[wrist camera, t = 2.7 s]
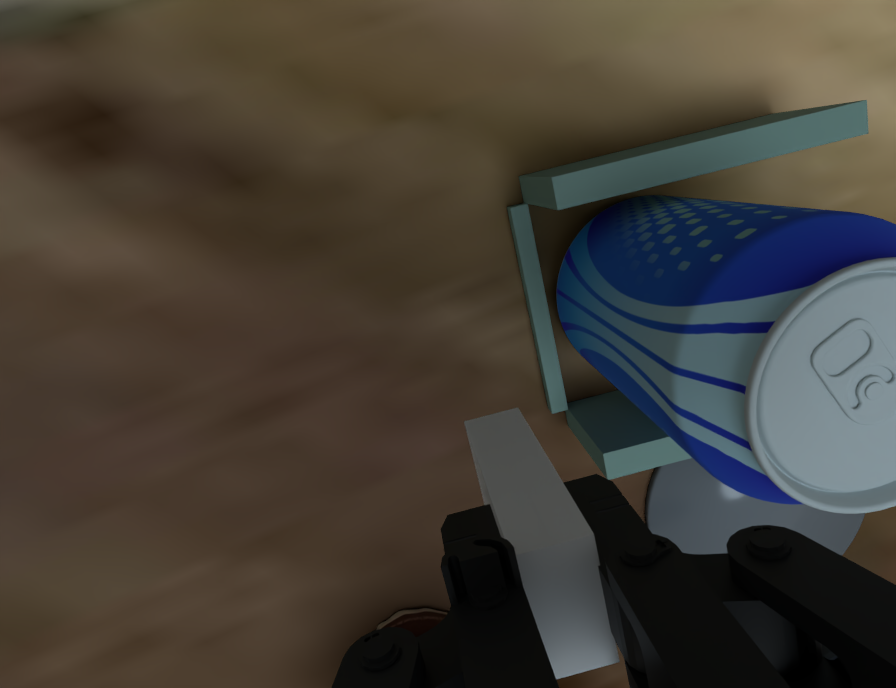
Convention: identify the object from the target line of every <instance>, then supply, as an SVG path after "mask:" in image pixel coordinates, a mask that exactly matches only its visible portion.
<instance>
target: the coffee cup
mask: <svg viewBox="0 0 896 688" xmlns="http://www.w3.org/2000/svg"><path fill="white" fill-rule="evenodd" d="M446 615H447V612H442V611H437V610H433V609H429V608H422V609H415V610H402V611H398V612H397V613H395V614H394V615H393V616H391V617H390V618H389V619H388V620H386V621H385V622H382V623H381V624H379V625H378V627H377V629H376V630H378V629H382V628H386V627H402V628H404V629H406V630H408V631H411V632H412V633H413V634H414V636H415V637H418V636H420V635H422V634H423V633H425V632H427V631H429V630H430V629H432V628H433V627H435V626H436V625H437V624H439V623H440V622H441V621H442V620H443V619H444V618H445V616H446Z"/></svg>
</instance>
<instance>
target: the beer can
mask: <svg viewBox="0 0 896 688" xmlns="http://www.w3.org/2000/svg"><path fill="white" fill-rule="evenodd" d="M557 308H558V313H559V318H560V321H561V324H562V327H563V329H564V331H565V334H566V335H567V337H568V339H569V341H570V342H571V344H572V345H573V346H574V348H575V349H576V350H577V351H578V352H579V353H580V355H582V356H583V357H584V358H585V359H586V360H587V361H588V362H589V363H590V364H591V365H592V366H593V367H595V368H596V369H597V370H598V371H599V372H600V373H601V374H602V375H603V376H604V377H605V378H606V379H608V380H609V381H610V382H611V383H612V384H613V385H614V386H615V387H616V388H617V389H618V390H619V391H621V392H622V393H623V394H624V395H625V396H626V397H627V398H628V399H629V400H630V401H631V402H632V403H634V404H635V405H636V406H637V407H638V408H639V409H640V410H641V411H642V412H643V413H644V414H645V415H647V416H648V417H649V418H650V419H651V420H652V421H653V422H654V423H655V424H656V425H657V426H658V427H660V428H661V429H662V430H663V431H664V432H665V433H666V434H667V435H668V436H669V437H670V438H671V439H673V440H674V441H675V442H676V443H677V444H678V445H679V446H680V447H681V448H682V449H683V450H684V451H686V452H687V453H688V454H689V455H690V456H691V457H692V458H693V459H694V460H695V461H696V462H697V463H699V464H700V465H701V466H702V467H703V468H704V469H705V470H706V471H707V472H709V473H710V474H711V475H712V476H713V477H715V478H716V479H717V480H719V481H720V482H722V483H723V484H725V485H726V486H728V487H730V488H732V489H734V490H735V491H737V492H740V493H742V494H744V495H747V496H749V497H753V498H756V499H760V500H763V501H768V502H773V503H779V504H791V505H793V504H805V505H808V506H810V507H813V508H816V509H819V510H823V511H828V512H834V513H844V514H859V513H868V512H874V511H879V510H883V509H887V508H890V507H894V506H896V224H893V223H891V222H888V221H886V220H883V219H880V218H876V217H872V216H869V215H865V214H859V213H852V212H843V211H831V210H820V209H809V208H797V207H786V206H775V205H763V204H752V203H741V202H730V201H718V200H707V199H696V198H684V197H673V196H661V195H649V196H640V197H635V198H631V199H627V200H624V201H622V202H619V203H617V204H615V205H613V206H611V207H609V208H607V209H605V210H604V211H602V212H601V213H599V214H598V215H597V216H595V217H594V218H593V219H592V220H591V221H590V222H588V223H587V224H586V225H585V226H584V227H583V229H582V230H581V231H580V232H579V233H578V235H577V236H576V237H575V239H574V240H573V242H572V243H571V245H570V247H569V248H568V250H567V252H566V254H565V257H564V259H563V262H562V264H561V268H560V271H559V276H558V281H557Z"/></svg>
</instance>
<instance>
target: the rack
mask: <svg viewBox="0 0 896 688" xmlns="http://www.w3.org/2000/svg"><path fill="white" fill-rule="evenodd" d="M864 134H868V116H867V100H863V101H856V102H849V103H843V104H836V105H829V106H822V107H815V108H809V109H802V110H795V111H788V112H781V113H774V114H770V115H766V116H762V117H758V118H754V119H750V120H746V121H742V122H737V123H733V124H729V125H725V126H721V127H717V128H713V129H709V130H705V131H701V132H697V133H693V134H689V135H685V136H680V137H676V138H672V139H668V140H664V141H660V142H656V143H652V144H648V145H644V146H640V147H636V148H632V149H628V150H624V151H619V152H615V153H611V154H607V155H603V156H599V157H595V158H591V159H587V160H583V161H579V162H575V163H571V164H567V165H562V166H558V167H554V168H550V169H546V170H542V171H538V172H534V173H530V174H526V175H522V176H519V181H520V186H521V191H522V196H523V201H524V203H521V204H517V205H513V206H509V207H507V210H508V215H509V220H510V225H511V230H512V235H513V239H514V244H515V249H516V254H517V259H518V264H519V268H520V273H521V278H522V283H523V288H524V293H525V298H526V302H527V307H528V312H529V317H530V322H531V327H532V331H533V336H534V341H535V346H536V351H537V356H538V361H539V365H540V370H541V375H542V380H543V385H544V390H545V394H546V399H547V404H548V408H549V410H550V411H551V413H552V414H553V413H557V412H561V411H565V412H566V417H567V422H568V426H569V428H570V429H571V430H572V432H573V433H574V434H575V436H576V437H577V439H578V440H579V441H580V443H581V444H582V445H583V447H584V448H585V449H586V451H587V452H588V454H589V455H590V456H591V458H592V459H593V460H594V462H595V463H596V465H597V466H598V467H599V469H600V470H601V471H602V473H603V474H604V475H605V477H606V478H607V479H608V480H610V479H614V478H617V477H621V476H625V475H629V474H633V473H636V472H640V471H644V470H648V469H652V468H655V467H659V466H663V465H667V464H671V463H675V462H678V461H682V460H686V459H690V458H692V457H691V456H690V455H689V454H688V453H687V452H686V451H684V450H683V449H682V448H681V447H680V446H679V445H678V444H677V443H676V442H675V441H674V440H673V439H671V438H670V437H669V436H668V435H667V434H666V433H665V432H664V431H663V430H662V429H661V428H660V427H658V426H657V425H656V424H655V423H654V422H653V421H652V420H651V419H650V418H649V417H648V416H647V415H645V414H644V413H643V412H642V411H641V410H640V409H639V408H638V407H637V406H636V405H635V404H634V403H632V402H631V401H630V400H629V399H628V398H627V397H626V396H625V395H624V394H623V393H622V392H621V391H619V390H616V391H612V392H608V393H605V394H601V395H597V396H593V397H589V398H585V399H581V400H577V401H574V402H570V403H567V400H566V395H565V390H564V385H563V380H562V375H561V370H560V365H559V360H558V355H557V350H556V345H555V340H554V335H553V330H552V325H551V319H550V314H549V309H548V304H547V299H546V294H545V289H544V284H543V279H542V274H541V269H540V264H539V259H538V254H537V249H536V244H535V239H534V233H533V228H532V223H531V218H530V213H529V208H528V204H531V205H536V206H540V207H545V208H549V209H554V210H561V209H565V208H569V207H574V206H578V205H582V204H586V203H590V202H594V201H598V200H602V199H606V198H610V197H614V196H618V195H622V194H626V193H630V192H634V191H638V190H642V189H646V188H650V187H654V186H658V185H662V184H666V183H670V182H674V181H678V180H682V179H686V178H690V177H694V176H699V175H703V174H707V173H711V172H715V171H719V170H723V169H727V168H731V167H735V166H739V165H743V164H747V163H751V162H755V161H759V160H763V159H767V158H771V157H775V156H779V155H783V154H787V153H791V152H795V151H799V150H803V149H807V148H811V147H815V146H819V145H823V144H828V143H832V142H836V141H840V140H844V139H848V138H852V137H856V136H860V135H864Z"/></svg>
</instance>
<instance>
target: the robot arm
mask: <svg viewBox="0 0 896 688" xmlns="http://www.w3.org/2000/svg"><path fill="white" fill-rule="evenodd" d="M464 423H465V427H466V431H467V435H468V439H469V443H470V447H471V451H472V455H473V459H474V463H475V468H476V472H477V476H478V480H479V484H480V488H481V492H482V496H483V500H484V504H485V505H484V506H480V507H476V508H472V509H469V510H465V511H461V512H457V513H454V514H450V515H447V517H446V519H445V521H444V524H443V526H442V528H441V533H442V539H443V544H444V551H445V555H444V556H443V558H442V562H441V570H442V573H443V577H444V581H445V584H446V588H447V592H448V595H449V599H450V603H451V608H450V611H449V612H448V613H447V615H446V616H445V618H444V619H443V620H442V621H441V622H440V623H439V624H437V625H436V626H435V627H433V628H432V629H430V630H429V631H427V632H425V633H423V634H422V635H420V636H418V637H415V636H414V634H413V633H412V632H411V631H408V630H406V629H404V628H402V627H386V628H382V629H378V630H374V631H372V632H370V633H368V634H366V635H364V636H363V637H361V638H360V639H358V640H357V641H356V642H355V643H354V644H353V645H352V646H350V648H349V649H348V651H347V652H346V654H345V656H344V657H343V659H342V662H341V665H340V667H339V670H338V673H337V675H336V678H335V680H334V683H333V686H332V688H559V686H558V683H557V680H556V679H559V678H563V677H567V676H570V675H574V674H578V673H581V672H585V671H588V670H592V669H596V668H599V667H603V666H607V665H610V664H614V663H617V662H619V657H618V652H617V647H616V643H617V645H618V647H619V649H620V651H621V653H622V655H623V657H624V660H625V665H626V670H627V675H628V680H629V685H630V688H896V585H895V584H893V583H891V582H889V581H887V580H885V579H884V578H882V577H880V576H878V575H876V574H874V573H872V572H871V571H869V570H867V569H865V568H863V567H861V566H860V565H858V564H856V563H854V562H852V561H850V560H848V559H847V558H845V557H843V556H841V555H839V554H837V553H836V552H834V551H832V550H830V549H828V548H826V547H824V546H823V545H821V544H819V543H817V542H815V541H813V540H812V539H810V538H808V537H806V536H804V535H802V534H800V533H799V532H796V531H793V530H791V529H788V528H786V527H780V526H773V525H757V526H751V527H747V528H744V529H741V530H739V531H737V532H736V533H734V534H733V535H731V536H730V538H729V540H728V542H727V544H726V546H727V553H721V554H688V553H682V551H681V550H680V549H679V548H678V546H677V545H676V544H675V543H673V542H672V541H671V540H669V539H668V538H665V537H662V536H659V535H656V534H652V532H651V531H650V530H649V528H648V527H647V526H646V524H645V523H644V522H643V521H642V519H641V518H640V517H639V515H638V514H637V513H636V511H635V510H634V509H633V508H632V506H631V505H629V502H628V501H627V500H626V498H625V497H624V496H622V493H621V492H620V491H619V489H618V488H617V487H616V485H615V484H614V483H613V482H612V481H610V480H608V479H606V478H604V477H602V476H600V475H597V474H594V475H591V476H587V477H583V478H579V479H576V480H572V481H568V482H564V483H563V482H562V480H561V478H560V477H559V475H558V473H557V472H556V470H555V468H554V467H553V465H552V463H551V462H550V460H549V458H548V457H547V455H546V453H545V452H544V450H543V448H542V447H541V445H540V443H539V442H538V440H537V438H536V437H535V435H534V433H533V432H532V430H531V428H530V427H529V425H528V423H527V422H526V420H525V418H524V417H523V415H522V413H521V412H520V410H519V408H514V409H510V410H507V411H503V412H499V413H495V414H491V415H487V416H483V417H480V418H476V419H472V420H468V421H464ZM615 641H616V642H615Z"/></svg>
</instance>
